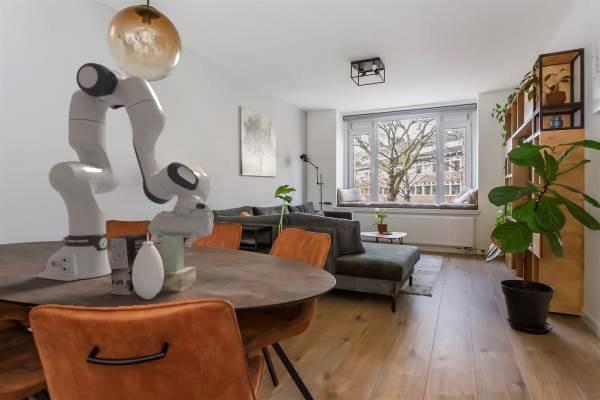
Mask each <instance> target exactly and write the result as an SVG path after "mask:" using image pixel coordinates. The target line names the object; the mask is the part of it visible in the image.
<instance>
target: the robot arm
mask: <svg viewBox="0 0 600 400" xmlns="http://www.w3.org/2000/svg"><path fill="white" fill-rule="evenodd" d="M75 79H76V83H77V86H78V88H79V90H78V89H77V90H75V91H74V92H73V93H72V95H71V97H70V104H69V108H68V132H67V133H68V138H67V139H68V140H67V141H68V144H69V145H70V148H71V149H72V150H74V151H75V153H76V155H77V157H78V160H79V161H76V160H75V161H74V160H71V161H62V162H58V163H56V164H54V165H53V166H52V167H51V168H50V170H49V173H48V181H49V184H50V186H51V187H52V189H54V190H55V191H56V192H57V193H58V194H59V195H60V197H61V199H62V200H63V202H64V204H65V207H66V210H67V217H68V219H67V221H68V235H67V236H64V237H62V239H61V242H64V241H65V242H64V245H63V247H61V248H60V249H59V250H58V251H56V252H55V253H53V254H52V255H50V257H48V259H47V261H46V268H45V270H44V271H42V272H40V273H38V274H37V276H36V277H37V278H38V277H39V279H48V280H56V281H65V282H71V281H76V280H77V281H78V280H83V279H92V278H97V277H98V278H99V277H103V276H107V275H109V274H111V264H110V261H109V256H108V249H107V248H108V243H109V242H108V241H109V240H108V238H109V237H108V232H107V217H106V216H107V215H106V214H107V213H106V210H105V209H104V208H103V207H102V206H100V204H99V202H98V200H97V197H96V195H104V194H107V193H111V192H114V191H115V190H116V189H118V187H119V185H120V182H121V181H120V180H121V178H120V174H119V172H118V171H117V170H116V169H115V167H114V166H113V164H112V162H111V159H110V156H109V152H108V149H107V132H106V131H107V126H106V125H107V122H106V121H107V119H106V118H107V117H106V115H107V111H108V109H109V108H111V109H113V110H118V109H121V108H125V111H126V113H127V115H128V119H129V123H130V126H131V131H132V132H131V134H132V145H133V150H134V153H135V156H136V161H137V163H138V167H139V170H140V174H141V177H142V189H143V193H144V195H145V197H146V198H147V199H148V200H149V201H151V202H152V203H155V204H156V205H165V204H167V203H169V202H170V201H171V200H172V199H173V198H174V197H177V201H176V203H175V204H174V207H173V209H172V211H171V210H170V211H169V210H168V211H165V210H162V211H160V212H158V213H156V214H155V216H154V217H153V218H152V220H151V221H150V223H149V224H148V225H147V230H148V233H150V235H151V236H153V237H156V240H155V245H156V246H155V247H162V238H164V237H169V236H183V238H184V237H185V238H188V239H185V242H184V247H186V248H191V247H192V246H193V243H195V242H196V241H197V240H198V238H208V237H209V236H211V235H212V232H213V229H214V219H215V217H214V213H213V211H212V209H211V206H210V205H209V204H206V202H207V201H208V197H209V196H210V191H211V180H210V177H209V176H208V175H207V174H206V173H204V172H201V171H194V170H192V169H191V168H190V167H189V166H187V165H185V164H184V163H181V162H178V161H177V162H176V161H175V162H171V163H169V164H167V165H166V166H165V167H164V168H162V169H161V170H160V167H159V163H158V159H157V157H156V153H155V149H156V148H155V147H156V144H157V142H158V139H159V138H160V135H161V133H162V132H163V130H164V128H165V125H166V115H165V111H164V109H163V106H162V103H161V102H160V100H159V98H158V96H157V94H156V92H155V90H154V88H153V87H152V86H151V84H150V83H149V81H148V80H147V79H146V78H144V77H142V76H138V75H132V76H127V77H126V75H124V74H122V73H121V72H118V71H117V70H114V69H111V68H108V67H107V66H104V65H102V64H101V63H100V64H99V63H96V62H87V63H84V64H82V65H81V66H80V67H79V69H78V70H77V72H76V77H75Z"/></svg>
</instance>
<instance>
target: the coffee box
mask: <svg viewBox="0 0 600 400" xmlns="http://www.w3.org/2000/svg"><path fill="white" fill-rule="evenodd" d="M110 241H111V243H110V245H111V246H110V247H111V248H110V249H111V251H110V254H111V256H110V258H111V259H110V260H111V261H110V268H111V273H110V282H111V283H110V285H111V286H110V290H111V291H110V293H111V295H123V296H130V295H134V294H137V293H136V291H135V289H134V286H133V282H132V270H133V264H134V261H135V258H136V256H137V253H138V251H139V250H140V248H141V247H142V246H143V242H147V234H146V233H145V234H128V235H122V236H115V237H110Z"/></svg>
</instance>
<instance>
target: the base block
mask: <svg viewBox="0 0 600 400" xmlns="http://www.w3.org/2000/svg"><path fill="white" fill-rule="evenodd" d="M196 283H197V267H196V266H184V269H181V270H179V271H177V272H170V271H164V281H163V285H162V288H161V290H160V292H161V291H163V292H183V291H185V290H187V289H188V288H190V287H191V286H193V285H195V284H196Z"/></svg>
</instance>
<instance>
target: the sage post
mask: <svg viewBox="0 0 600 400" xmlns="http://www.w3.org/2000/svg"><path fill="white" fill-rule="evenodd" d="M161 239H162V246H161V247H162V248H161V249H162V250H161V251H162V252H161V254H162V255H161V256H162V257H161V260H162V263H163V268H164V271H170V272H177V271H179V270H181V269H184V267H185V265H184V264H185V261H184V259H185V258H184V257H185V256H184V254H185V252H184V250H185V248H184V247H185V242H184V237H183V236H164V237H163V238H161Z"/></svg>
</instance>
